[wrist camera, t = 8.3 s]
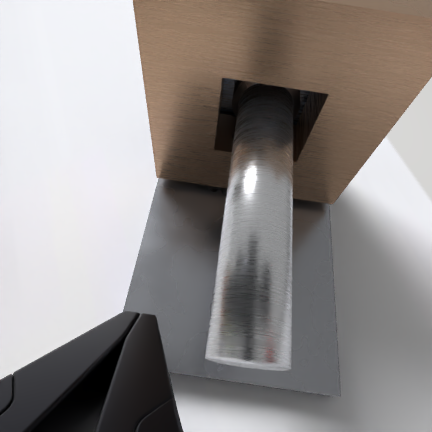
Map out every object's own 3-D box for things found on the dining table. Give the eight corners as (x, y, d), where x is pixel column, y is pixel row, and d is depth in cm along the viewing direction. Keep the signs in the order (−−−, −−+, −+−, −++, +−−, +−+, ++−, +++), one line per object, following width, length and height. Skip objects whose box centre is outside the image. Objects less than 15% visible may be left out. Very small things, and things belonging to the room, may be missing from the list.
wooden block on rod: (332, 204, 18) (471, 24, 9) (156, 177, 18) (128, -30, 9) (330, 169, 19) (451, -19, 10) (165, 144, 19) (148, -67, 10)
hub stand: (331, 395, 14) (613, 400, 5) (114, 364, 14) (-29, 306, 5) (319, 153, 22) (425, -37, 12) (174, 131, 22) (165, -78, 12)
